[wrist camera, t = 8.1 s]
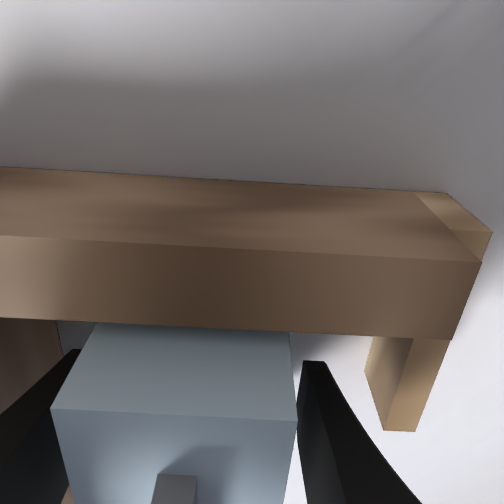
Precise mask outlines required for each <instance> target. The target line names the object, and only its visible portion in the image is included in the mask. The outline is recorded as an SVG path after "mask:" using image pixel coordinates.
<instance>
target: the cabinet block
mask: <svg viewBox="0 0 504 504" xmlns="http://www.w3.org/2000/svg"><path fill="white" fill-rule="evenodd" d="M50 410H51V414H52V418H53V422H54V426H55V430H56V434H57V437H58V441H59V445H60V449H61V453H62V457H63V461H64V465H65V468H66V472H67V476H68V480H69V484H70V488H71V492H72V495H73V499H74V503H75V504H283V501H284V496H285V490H286V485H287V479H288V473H289V468H290V462H291V457H292V451H293V446H294V440H295V435H296V429H297V423H298V418H297V408H296V399H295V389H294V380H293V371H292V361H291V352H290V343H289V333H288V332H281V331H261V330H242V329H222V328H203V327H183V326H164V325H144V324H125V323H105V322H97V323H96V325H95V327H94V329H93V331H92V332H91V334H90V336H89V338H88V340H87V342H86V343H85V345H84V347H83V349H82V351H81V353H80V354H79V356H78V358H77V360H76V362H75V363H74V365H73V367H72V369H71V371H70V373H69V374H68V376H67V378H66V380H65V382H64V384H63V385H62V387H61V389H60V391H59V393H58V394H57V396H56V398H55V400H54V402H53V404H52V405H51V407H50Z"/></svg>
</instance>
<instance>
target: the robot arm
mask: <svg viewBox="0 0 504 504" xmlns="http://www.w3.org/2000/svg"><path fill="white" fill-rule="evenodd" d="M81 351H82V349H72V350H71V351H70V352H69V353H67V354H66V355H65V356H64V357H63V358H62V359H61V360H60V361H59V362H58V363H57V364H56V365H54V366H53V367H52V368H51V369H50V370H49V371H48V372H47V373H46V374H45V375H44V376H43V377H42V378H41V379H39V380H38V381H37V382H36V383H35V384H34V385H33V386H32V387H31V388H30V389H28V390H27V391H26V392H25V393H24V394H23V395H22V396H21V397H20V398H18V399H17V400H16V401H15V402H14V403H13V404H12V405H11V406H9V407H8V408H7V409H6V410H5V411H4V412H2V413H1V414H0V504H61V502H62V500H63V498H64V495H65V493H66V491H67V489H68V486H69V480H68V476H67V472H66V468H65V465H64V461H63V457H62V453H61V449H60V445H59V441H58V437H57V434H56V430H55V426H54V422H53V418H52V414H51V410H50V407H51V405H52V404H53V402H54V400H55V398H56V396H57V394H58V393H59V391H60V389H61V387H62V385H63V384H64V382H65V380H66V378H67V376H68V374H69V373H70V371H71V369H72V367H73V365H74V363H75V362H76V360H77V358H78V356H79V354H80V353H81ZM296 408H297V418H298V423H297V442H298V449H299V455H300V461H301V467H302V474H303V480H304V486H305V492H306V498H307V504H422V503H421V502H420V501H419V500H418V498H417V497H416V496H415V495H414V494H413V493H412V492H411V490H410V489H409V488H408V487H407V486H406V484H405V483H404V482H403V481H402V479H401V478H400V477H399V476H398V475H397V473H396V472H395V471H394V470H393V468H392V467H391V466H390V464H389V463H388V462H387V460H386V459H385V458H384V456H383V455H382V454H381V452H380V451H379V449H378V448H377V447H376V445H375V444H374V442H373V441H372V440H371V438H370V437H369V435H368V434H367V432H366V431H365V429H364V428H363V426H362V425H361V423H360V422H359V420H358V419H357V417H356V415H355V414H354V412H353V411H352V409H351V408H350V406H349V404H348V403H347V401H346V399H345V397H344V396H343V394H342V392H341V390H340V389H339V387H338V385H337V383H336V381H335V380H334V378H333V376H332V374H331V372H330V370H329V368H328V366H327V364H326V363H325V362H324V361H308V360H303V365H302V371H301V377H300V384H299V390H298V396H297V402H296Z"/></svg>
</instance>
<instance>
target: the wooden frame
mask: <svg viewBox="0 0 504 504" xmlns="http://www.w3.org/2000/svg"><path fill="white" fill-rule="evenodd" d="M491 235H492V231H491V230H490V229H489V228H488V227H486V226H485V225H484V224H483V223H482V222H480V221H479V220H478V219H477V218H476V217H475V216H473V215H472V214H471V213H470V212H469V211H467V210H466V209H465V208H464V207H463V206H461V205H460V204H459V203H458V202H457V201H456V200H454V199H453V198H452V197H451V196H450V195H448V194H447V193H433V192H416V191H400V190H383V189H366V188H349V187H333V186H316V185H299V184H282V183H266V182H249V181H232V180H215V179H199V178H182V177H165V176H148V175H132V174H115V173H98V172H81V171H65V170H48V169H31V168H14V167H0V414H1V413H2V412H4V411H5V410H6V409H7V408H8V407H9V406H11V405H12V404H13V403H14V402H15V401H16V400H17V399H18V398H20V397H21V396H22V395H23V394H24V393H25V392H26V391H27V390H28V389H30V388H31V387H32V386H33V385H34V384H35V383H36V382H37V381H38V380H39V379H41V378H42V377H43V376H44V375H45V374H46V373H47V372H48V371H49V370H50V369H51V368H52V367H53V366H54V365H56V364H57V363H58V362H59V361H60V360H61V359H62V358H63V353H62V349H61V344H60V340H59V335H58V331H57V326H56V322H55V320H67V321H86V322H105V323H125V324H144V325H164V326H183V327H203V328H222V329H242V330H261V331H281V332H300V333H320V334H339V335H359V336H374V337H373V341H372V344H371V348H370V352H369V356H368V359H367V363H366V367H365V371H364V372H365V375H366V378H367V381H368V384H369V387H370V390H371V393H372V397H373V400H374V403H375V406H376V409H377V412H378V415H379V418H380V421H381V425H382V428H383V430H385V431H407V432H415V430H416V428H417V425H418V423H419V420H420V417H421V415H422V412H423V410H424V407H425V405H426V402H427V399H428V397H429V394H430V392H431V389H432V387H433V384H434V381H435V379H436V376H437V374H438V371H439V369H440V366H441V363H442V361H443V358H444V356H445V353H446V351H447V348H448V345H449V343H450V340H452V338H453V336H454V333H455V331H456V328H457V325H458V323H459V320H460V318H461V315H462V313H463V310H464V307H465V305H466V302H467V300H468V297H469V295H470V292H471V290H472V287H473V284H474V282H475V279H476V277H477V274H478V272H479V269H480V266H481V264H482V262H481V260H482V258H483V255H484V253H485V250H486V247H487V245H488V242H489V240H490V237H491ZM61 504H75V503H74V499H73V495H72V492H71V488H70V484H69V486H68V489H67V491H66V493H65V495H64V498H63V500H62V502H61Z"/></svg>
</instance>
